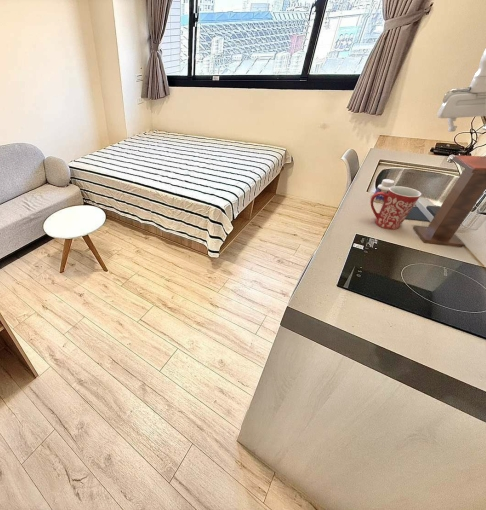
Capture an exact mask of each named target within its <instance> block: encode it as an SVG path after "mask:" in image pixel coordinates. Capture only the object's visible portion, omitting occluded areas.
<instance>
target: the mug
mask: <svg viewBox="0 0 486 510" xmlns="http://www.w3.org/2000/svg"><path fill="white" fill-rule="evenodd" d="M374 193H375V192H374ZM374 193H373V195H372V196H371V199H370V208H371V211H372V212H373V215H374V217H375V218H376V219H375V224H376V226H379V227H380V228H383V229H387V230H398V229H399V228H400V227H401V226H402V224H403V222H404V221H405V220H406V219H405V218H406V216H407V215H408V213H409V212H410V210H411V209H412V207H413V206H414V207H415V203H416V201H417V200H418V198H421V196H422V192H421V191H419V190H418V189H414V188H412V187H407V186H399V185H393V187H390V188H389V191H388V194H386V193H383V192H377V193H375V194H374ZM378 195H383V197H384V203H382V205H381V208H380V210H379V212H377V210H376V209H375V205H374V202H375V201H374V198H375V197H376V196H378Z"/></svg>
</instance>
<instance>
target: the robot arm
mask: <svg viewBox="0 0 486 510" xmlns="http://www.w3.org/2000/svg"><path fill="white" fill-rule="evenodd" d="M478 65H479V66H478V68H477V71H476V72H475V74H474V75H473V78H472V80H471V82H470V84H469V86H468V87H461V88H452V89H451V90H449V91H447V92H446V93H444V96H443V99H442V104H441V105H440V107H439V109H438V111H437V113H436V116H437V118H439V119H447V123H448V129H447V132H456V130H457V128H458V126H457V125H455V124H454V122H456V121H457V118H476V117H477V118H478V117H486V48H484V51H483V52H482V55H481V58H480V60H479V64H478ZM482 130H483V131H486V123H485V124H484V125H483V127H482Z"/></svg>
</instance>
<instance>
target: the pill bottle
mask: <svg viewBox="0 0 486 510" xmlns="http://www.w3.org/2000/svg"><path fill="white" fill-rule="evenodd" d="M394 184H395V180H393V179H388V178H384V179H382V180H381V183H379V184H378V186H377V187H376V189H375V190H374V193H373V195H374V194H375V193H377V192H383V193H386V194H388V191H389V188H390V187H393V186H395V185H394ZM373 202H375V203H379V204H383V203H384V197H383V195H378V196H376V197H375V198H374V201H373Z"/></svg>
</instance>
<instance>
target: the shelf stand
mask: <svg viewBox="0 0 486 510" xmlns="http://www.w3.org/2000/svg"><path fill="white" fill-rule="evenodd" d="M451 161H453V162H454V163H456V165H459V166H460V167H461V168H463V171H462V172H461V173H460V175H459V176H458V178H457V180H456V182H455V183H454V185H453V186H452V188H451V189H450V191H449V192H448V194H447V196H446V197H445V199H444V200H443V202H442V203H441V205H440V206H439V207H440V208H439V210H438V212H437V213H436V215H435V216H434V218H433V220H432V221H431V222H430V223H429V224H428V226H423V225H421V226H420V225H414V226H413V228H412V229H413V231H414V232H415V234H416V235H417V236H418V237H419V238H420V240H421V241H422V243H423V244H429V245H439V246H447V247H455V248H463V246H464V245H465V244H464V243H463V241H461V240H460V239H459V238H458V236H456V232H457V231H458V229H459V228H460V227H461V226H462V224H463V222H464V221H465V219H467V216H468V215H469V214H470V213H471V211H472V209H473V208H474V206H475V205H476V204H477V203H478V201H479V200H480V198H481V197H482V196H483V194H484V193H485V191H486V155H483V156H482V155H458V154H457V155H454V156H452V158H451Z"/></svg>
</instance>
